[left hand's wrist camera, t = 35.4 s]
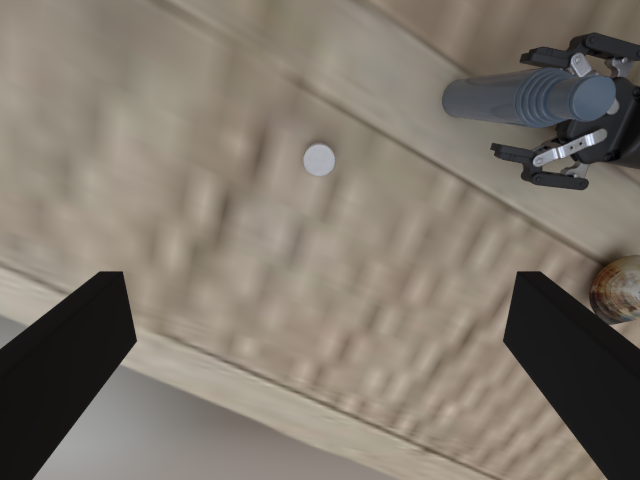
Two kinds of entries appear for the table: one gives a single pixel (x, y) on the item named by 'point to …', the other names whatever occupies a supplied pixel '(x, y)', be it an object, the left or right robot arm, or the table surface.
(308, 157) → the cap
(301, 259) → the table surface
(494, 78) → the bottle
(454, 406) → the table surface
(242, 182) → the table surface
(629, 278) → the seashell
